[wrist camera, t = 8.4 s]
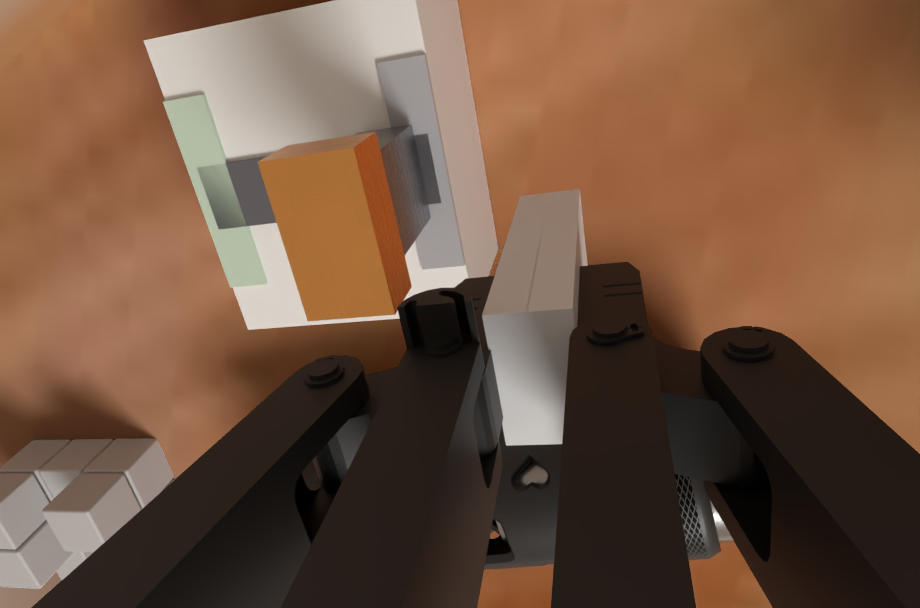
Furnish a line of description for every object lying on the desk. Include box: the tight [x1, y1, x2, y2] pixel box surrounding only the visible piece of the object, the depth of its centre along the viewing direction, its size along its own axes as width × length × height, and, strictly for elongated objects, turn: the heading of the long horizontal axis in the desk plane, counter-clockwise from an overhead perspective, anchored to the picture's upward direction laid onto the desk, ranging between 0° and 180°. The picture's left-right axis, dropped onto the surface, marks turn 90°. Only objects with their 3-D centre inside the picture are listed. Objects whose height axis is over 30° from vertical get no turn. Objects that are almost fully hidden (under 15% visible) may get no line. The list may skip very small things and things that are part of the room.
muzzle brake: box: [302, 426, 734, 569], centre depth 39 cm, size 10×28×10 cm, turn 109°
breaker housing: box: [144, 0, 498, 330], centre depth 32 cm, size 12×14×8 cm
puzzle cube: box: [0, 438, 175, 589], centre depth 50 cm, size 12×12×8 cm
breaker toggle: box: [258, 124, 431, 321], centre depth 24 cm, size 3×6×8 cm, turn 10°
